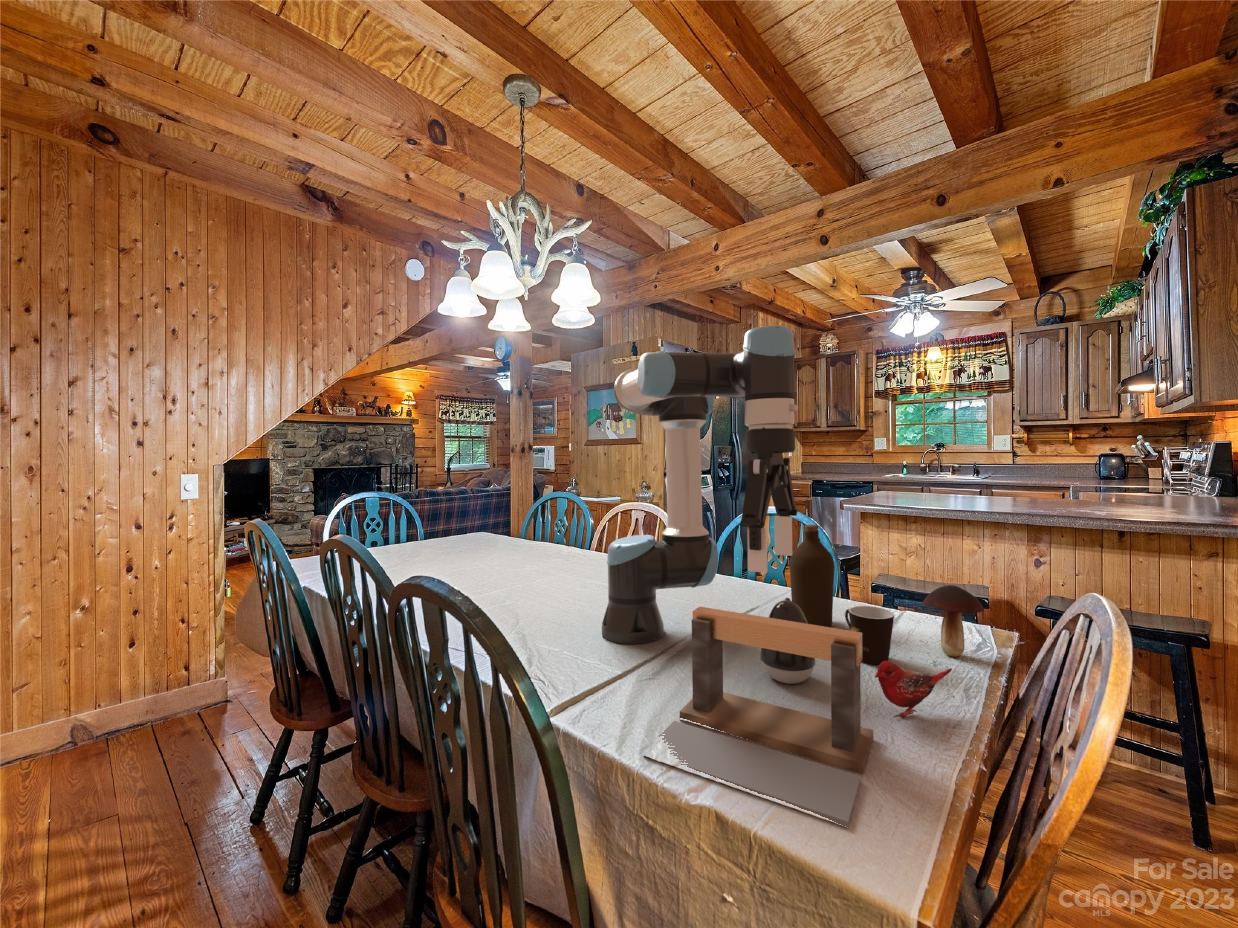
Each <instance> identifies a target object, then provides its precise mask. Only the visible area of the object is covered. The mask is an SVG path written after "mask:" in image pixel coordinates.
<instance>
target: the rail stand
mask: <svg viewBox="0 0 1238 928" xmlns="http://www.w3.org/2000/svg"><path fill="white" fill-rule="evenodd" d="M723 642H724V640H719V639H714V638H711V621H707V620H701V619H695V618H694V619H693V618H692V619H691V667H692V668H691V669H692V670H691V671H692V673H691V674H692V675H691V676H692V677H691V678H692V679H691V681H692V699H690V701H689V702H687V703H686V704H685V705H684V706H683V707H682V708H681V709H680V710H679V719H680V718H683V719H687V720H690V721H692V722H696V723H700V724H701V725H706V726H709V727H711V728H714V729H717V730H720V731H724V732H726V733H728V734H732V735H734V736H733V737H735V736H738V737H737V738H739V737H742V738H744V739H743V740H745V739H748V740H747V741H749V740H751V741H750V742H752V741H754V742H753V743H756V742H758V743H757V744H759V743H761V744H760V745H762V744H763V746H766V745H768V746H767V747H769V746H771V747H770V748H772V749H776V748H777V750H779V749H781V750H780V751H783V750H784V751H783V752H786V751H788V752H787V753H790V752H792V753H791V754H793V753H794V754H793V755H796V754H798V755H797V756H800V757H803V756H804V758H807V757H808V758H807V759H810V758H811V759H810V760H813V759H814V760H815V761H817V760H818V761H817V762H820V763H824V764H827V765H830V766H835V767H837V768H840V769H843V770H848V771H850V772H855V773H858V774H862V775H864V773H865V771H866V770H865V769H866V766H867V763H868V759H869V756H870V752H871V749H872V747H873V743H874V729H870V728H868V727H864V726H862V725H861V724H862V723H861V721H862V720H861V717H862V716H861V714H862V712H861V708H862V707H861V705H862V704H861V665H860V666H859V667H858V666H855V646H849V645H843V644H838V643H832V644H831V661H830V669H831V670H830V677H831V678H830V685H831V686H830V688H831V689H830V690H831V691H830V692H831V693H830V695H831V696H830V697H831V698H830V700H831V702H830V703H831V704H830V705H831V707H830V709H831V715H830V717H831V719H830V718H827V717H824V716H819V715H815V714H811V713H808V712H804V711H799V710H795V709H792V708H787V707H783V706H779V705H775V704H771V703H767V702H764V701H760V700H756V699H751V698H747V697H744V696H741V695H740V696H739V695H735V694H732V693H728V692H724V661H723V660H724V659H723V658H724V657H723V656H724V654H723V652H724V651H723V650H724V648H723V644H724V643H723ZM728 734H727V735H728ZM732 735H731V736H732ZM742 738H741V739H742Z"/></svg>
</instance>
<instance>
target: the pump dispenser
mask: <svg viewBox="0 0 1238 928" xmlns="http://www.w3.org/2000/svg"><path fill="white" fill-rule="evenodd" d="M767 617H768V618H774V619H781V620H787V621H793V622H799V623H805V624H808V623H807V620H806V618H805V615H804V613H803V612H802V610H801V609H800V607H799V606H798V605H797V604H796V603H794V602H792V600H791V598H790V597H786V598H784V600H783V599H782V600H780V601H778V602H776V603H775V605H774V606H773V607H772V609H771V610H770V612H769V614H768V616H767ZM759 655H760V656H759V657H760V660H761V662H762V665H763V669H764V670H765V672H766V673H767V674H768V675H769V677H771V679H774V681H777V682H779V683H782V684H786V685H787V684H788V685H789V684H790V685H795V684H796V685H797V684H799V683H802V682H803V683H804V682H805V681H806V680H807V679H808V678H809V677H811V675H812V672H813V669H814V667H815V665H816V661H817V659H816V658H812V657H807V656H801V655H796V654H791V653H786V652H781V651H776V650H770V649H765V648H760V654H759Z"/></svg>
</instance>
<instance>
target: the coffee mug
mask: <svg viewBox="0 0 1238 928" xmlns="http://www.w3.org/2000/svg"><path fill="white" fill-rule="evenodd" d="M844 613H845V614H844V618H845V621H846V624H847V627H849V629H850V631H855V632H861V633H862V661H861V664H865V665H869V666H876V667H877V666H878V667H879V665H880V664H881V663H882V662H883V661H889V658H890V651H891V645H892V644H891V642H892V636H893V627H894V620H895V613H894V612H893V611H891V610H889V609H886V608H883V607H879V606H872V605H871V606H870V605H856V606H852V607H849V608H847V609H846V610H845V612H844Z"/></svg>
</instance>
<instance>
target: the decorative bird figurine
mask: <svg viewBox="0 0 1238 928" xmlns="http://www.w3.org/2000/svg"><path fill="white" fill-rule="evenodd" d="M952 670H953V668H952V667H951V668H947V669H945V670H942V671H940V672H938V673H936V674H933V675H928V674H925V673H922V672H920V671H919V672H918V671H913V670H910V671H909V670H905V669H903V668H901V667H900V666H899V665H898V664H897V663H895V662H893V661H889V660H888V661H883V662H882V663H881V664H880V665H879V666H878V667H877V672H876V673H875V675H874V678H878V679H877V680H878V682H879V685H880V687H881V691H882V693H883V694H884V697H885V698H886V700H888V702H890V703H891V704H893V705H895V706H897V707H900V708H907V709H905V710H904V711H903V712H899V714H896V715H894V716H893V718H897V717H901V718H905V717H907V716H909V715H912V714H914V712H915V713H917V711H918V710H916V709H914V708H915V707H916V706H917V705H919V704H921V702H922V701H924V699H926V698H927V697H928V696H929V695H930V694H931V693H932V691H933V690H934V687H935V686H936V685H937V683H938V682H939V681H941V680H942V679H944V677H946V676H947V675H948V674H949V673H951V672H952Z"/></svg>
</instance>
